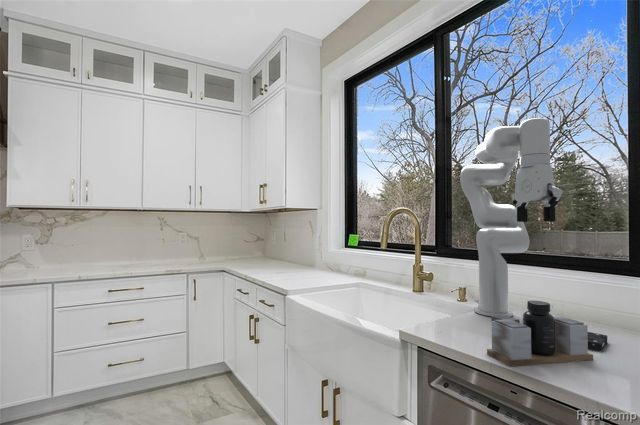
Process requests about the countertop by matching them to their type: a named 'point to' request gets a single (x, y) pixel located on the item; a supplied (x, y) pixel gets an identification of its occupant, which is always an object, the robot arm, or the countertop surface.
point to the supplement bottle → (540, 327)
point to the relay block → (500, 317)
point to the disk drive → (596, 341)
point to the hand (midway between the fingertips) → (535, 221)
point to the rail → (516, 343)
